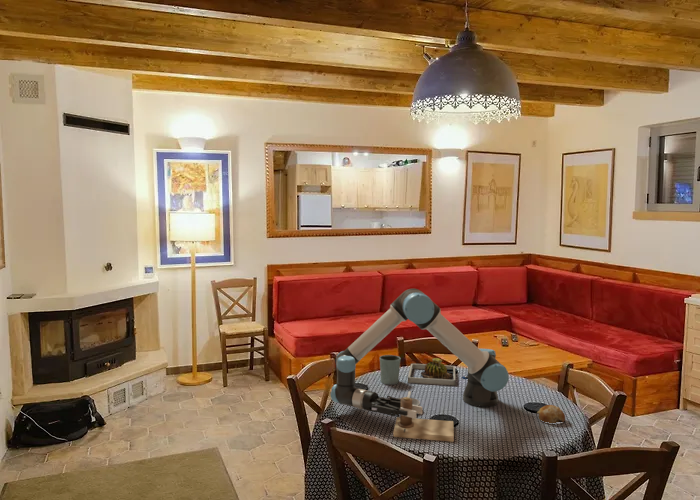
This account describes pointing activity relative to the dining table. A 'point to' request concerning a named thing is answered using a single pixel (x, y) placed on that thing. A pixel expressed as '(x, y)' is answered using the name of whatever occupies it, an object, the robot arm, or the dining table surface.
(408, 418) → the brown flanged cylinder
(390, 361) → the green cup
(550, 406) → the bread roll
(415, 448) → the dining table surface
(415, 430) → the board
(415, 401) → the saucepan
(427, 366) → the cactus
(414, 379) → the plant tray
